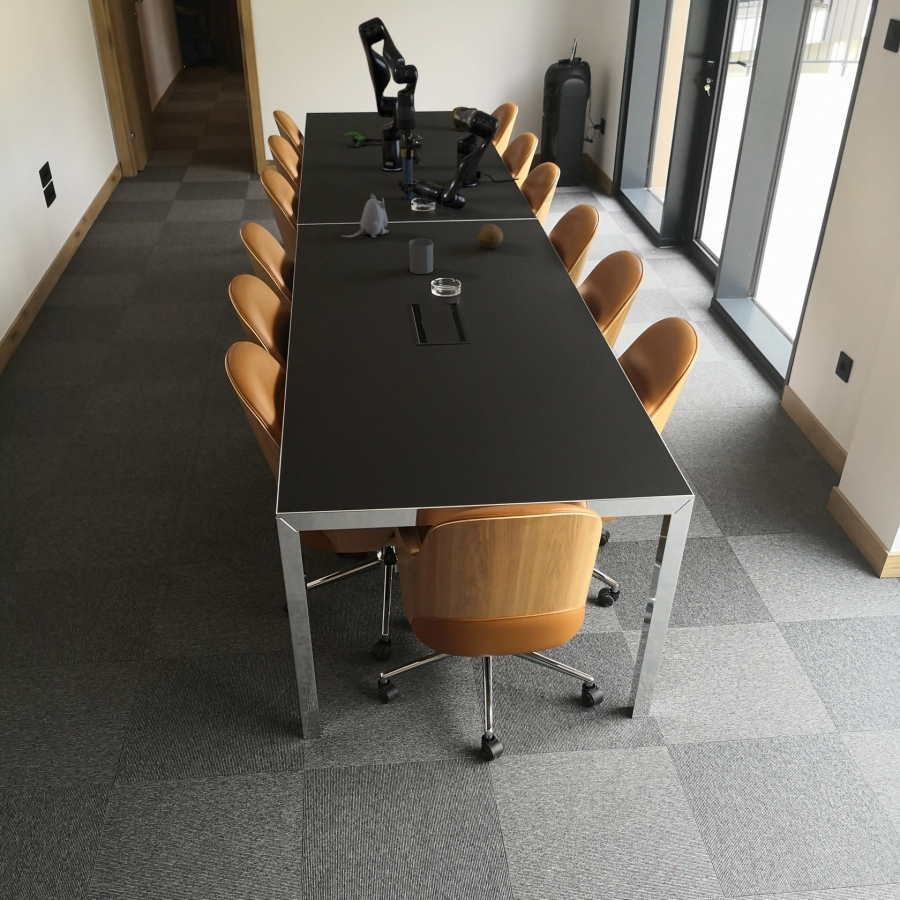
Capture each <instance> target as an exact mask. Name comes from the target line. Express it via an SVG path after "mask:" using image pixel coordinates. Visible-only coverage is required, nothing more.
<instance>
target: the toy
mask: <svg viewBox="0 0 900 900" xmlns="http://www.w3.org/2000/svg"><path fill="white" fill-rule="evenodd" d="M359 227H360V229H359V230H358V231H357V232H355V233H353V234H350V235H341V237H342V238H355V237H357V236H359V235H365V236H366V235H367V234H368V235H371V238H374V239H377V238H378V236H377V235H381V236H382V235H383V236H384V235H387V234H389V233H390V231H389V230H388V229H386V228H387V227H388V215H387V211H386V207H385V200H384V197H382V200H377V197H376V195H375V194H373V193H371V194H370V198H369V199H368V200H367V201H366V202H365V205H364V208H363V212H362V215H361V219H360V221H359Z"/></svg>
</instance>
